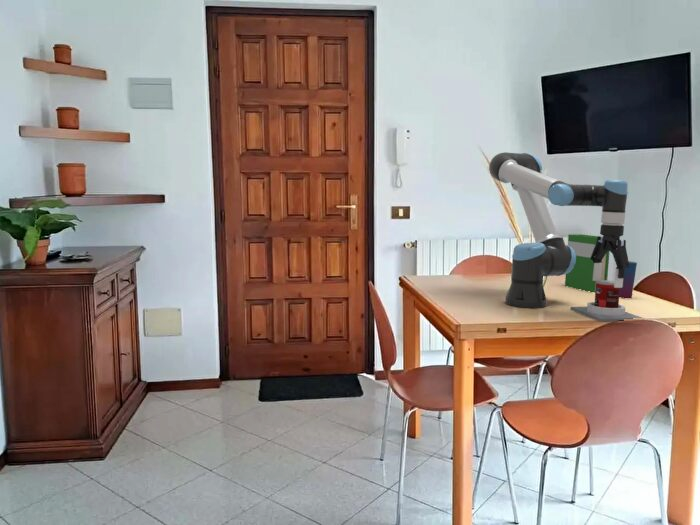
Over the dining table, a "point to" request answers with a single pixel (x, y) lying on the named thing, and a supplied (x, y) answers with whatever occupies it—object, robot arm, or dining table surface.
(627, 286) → the cup
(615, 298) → the canned food
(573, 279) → the hardback book
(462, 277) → the dining table surface
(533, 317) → the dining table surface
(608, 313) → the holder
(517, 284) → the robot arm
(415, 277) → the dining table surface
